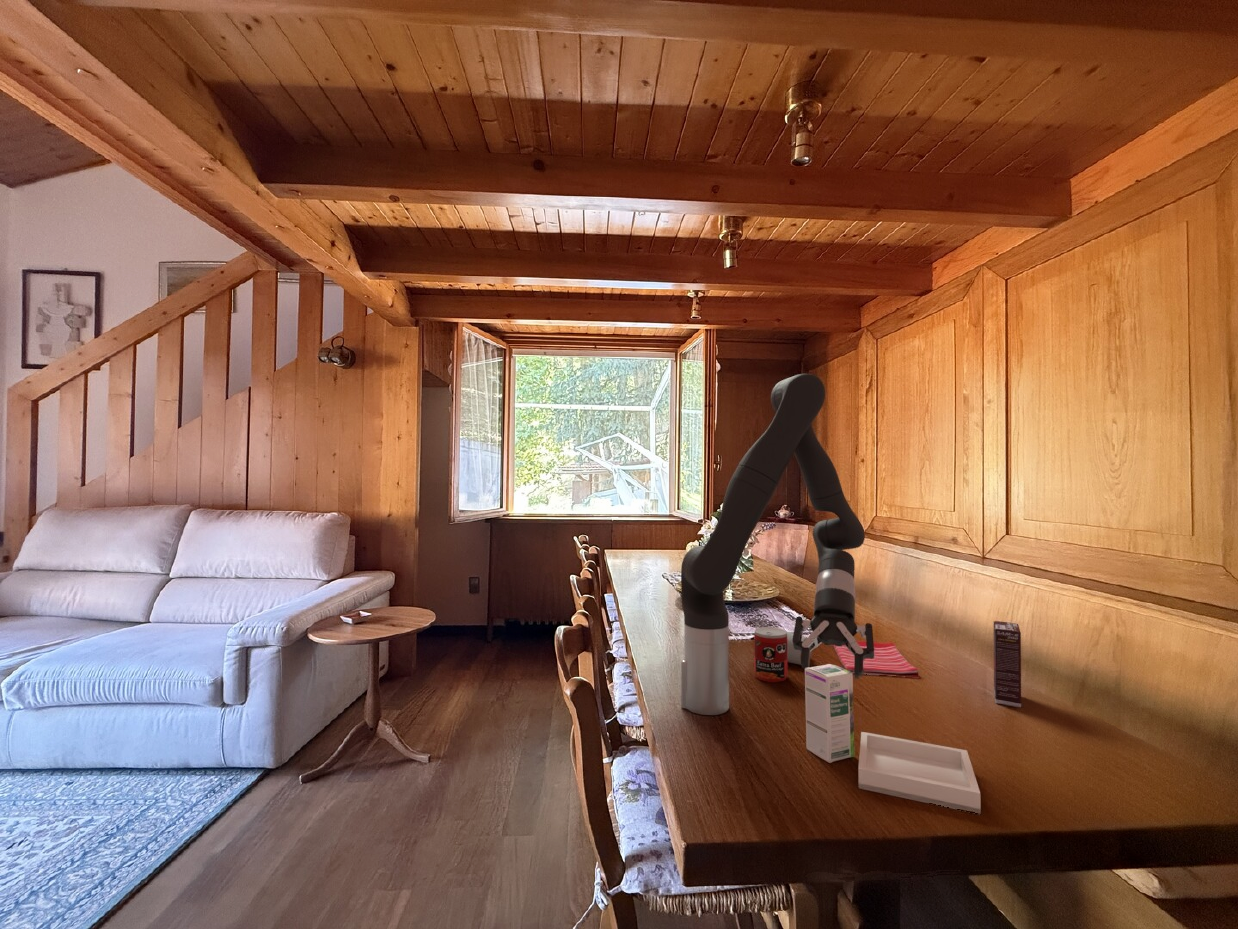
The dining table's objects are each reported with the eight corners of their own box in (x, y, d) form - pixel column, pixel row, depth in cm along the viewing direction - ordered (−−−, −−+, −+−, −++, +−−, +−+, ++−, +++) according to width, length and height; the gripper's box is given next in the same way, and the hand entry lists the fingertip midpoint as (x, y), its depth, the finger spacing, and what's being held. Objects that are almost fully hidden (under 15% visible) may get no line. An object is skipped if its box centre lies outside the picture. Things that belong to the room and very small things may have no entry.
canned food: (752, 680, 133) (751, 633, 133) (757, 669, 140) (756, 625, 141) (785, 684, 130) (785, 637, 130) (788, 673, 138) (788, 628, 138)
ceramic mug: (803, 669, 141) (803, 638, 141) (772, 662, 146) (772, 633, 146) (817, 659, 149) (817, 630, 149) (787, 653, 154) (787, 625, 154)
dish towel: (896, 651, 157) (895, 641, 157) (921, 681, 134) (921, 669, 134) (831, 647, 161) (831, 638, 161) (846, 675, 138) (845, 664, 138)
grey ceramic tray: (858, 788, 87) (858, 768, 87) (861, 748, 99) (861, 731, 99) (980, 814, 80) (980, 793, 80) (967, 768, 92) (966, 750, 92)
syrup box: (829, 764, 94) (828, 676, 94) (804, 748, 99) (804, 666, 100) (855, 757, 96) (854, 672, 97) (829, 742, 102) (828, 662, 102)
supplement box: (1022, 708, 117) (1021, 632, 117) (994, 703, 119) (993, 628, 120) (1019, 695, 124) (1018, 623, 124) (993, 690, 127) (992, 620, 127)
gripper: (796, 583, 113) (788, 657, 102) (873, 589, 107) (873, 668, 96) (799, 605, 118) (792, 677, 107) (874, 611, 112) (874, 689, 101)
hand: (831, 673), depth 102 cm, fingers open, 8 cm apart
